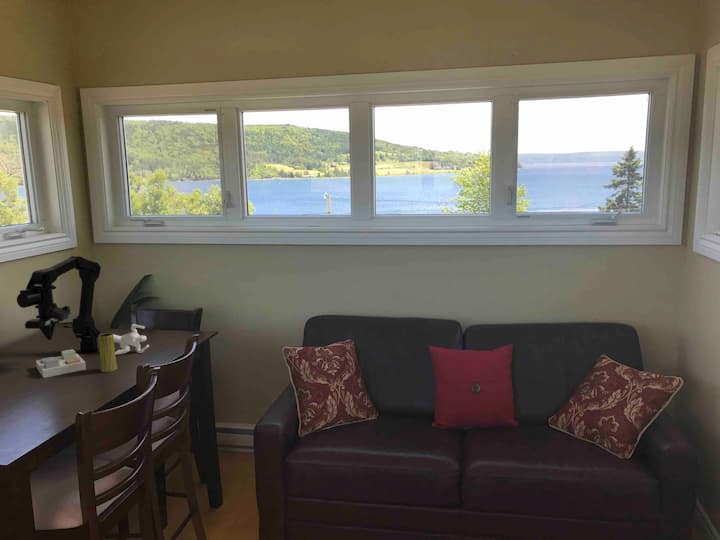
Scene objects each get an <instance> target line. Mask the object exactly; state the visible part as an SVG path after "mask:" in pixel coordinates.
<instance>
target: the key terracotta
mask: <svg viewBox="0 0 720 540" xmlns="http://www.w3.org/2000/svg"><path fill="white" fill-rule="evenodd" d="M65 361H66V364H67V365H68V364H73V363H79V362H80V359H79V358H78V357H76V358H71V359H65Z"/></svg>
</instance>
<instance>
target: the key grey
mask: <svg viewBox="0 0 720 540" xmlns="http://www.w3.org/2000/svg"><path fill="white" fill-rule="evenodd" d="M53 357H54V356H53ZM57 357H58V356H55V357H54V358H49V359H44V366H45V368H46V369H47V368H53V367H58V366H59V360H58V359H57Z"/></svg>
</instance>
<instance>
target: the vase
mask: <svg viewBox="0 0 720 540" xmlns="http://www.w3.org/2000/svg"><path fill="white" fill-rule="evenodd" d="M113 335H114V333H112V332H111V333H110V332H104V333H100V335H99V337H98V345H99V346H98V347H99V355H100V356H99V357H100V372H102V373H111V372H115V371H116V370H118V364H117V359H116V355H115V352H116V347H115V342H114V338H113Z"/></svg>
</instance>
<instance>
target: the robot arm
mask: <svg viewBox="0 0 720 540" xmlns="http://www.w3.org/2000/svg"><path fill="white" fill-rule="evenodd" d="M73 269H75V270H76V271H78V276H79V278H80V280H81V289H80V299H79V309H78V315H77V317H76V318H72V325H71V329H72V332H73V334H74V335H75V337H76V339H79V341H78V348H79V349H78V350H79V352H81V354H89V353H96V352H100V348H99V346H98V339H99V335H101V330H99V329H97V328H96V327H95V326H96V323H95V320H94V318H93V315H92V313H93V312H92V311H93V303H94V302H93V301H94V292H95V283H96V282H97V281H98V279H99V277H100V274H101V269H102V268H101V265H100V264H99V262H97V261H93V260H89V259H86V258H85V257H82V256H81V255H80V256H79V255H72V256H70V257H69V258H67V259H65V260H63V261H61V262H59V263H56V264H55V265H52V266H51V267H48V268H42V269H38V270H35V271H33V272H32V273H31V276H30V279H29V281H28V283H27V285H26V286H25V289H20V291H19V294H18V295H17V297H16V303H17V305H18V306H19V307H20V308H22V309H26V308H29V307H33V306H34V308H35V309H37V314H38V315H35V318H32V319H29V320H27V321H26V322H24V327H25V329H26V330H27V329H28V330H29V329H30V330H31V329H34V330H37V329H39V330H40V331H41V333H42V334H43V335H44V336H45V338H46V339H47V341H50V340H51V341H52V339H53V335H54V332H55V327H56V325H58V324H59V323H60V322H63V321H65V320H67V319H68V318H69V315H71V314H72V313H71V308H70V306H69V305H64V306H62V307H58V305H57V303H55V302H54V297H53V296H54V295H53V291H54V290H55V289H57V286H55V285H54V283H56V281H57V279H58V278H59V277H60V276H63V275H64V274H66V273H69V272H70V271H72V270H73ZM98 348H99V349H98Z"/></svg>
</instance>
